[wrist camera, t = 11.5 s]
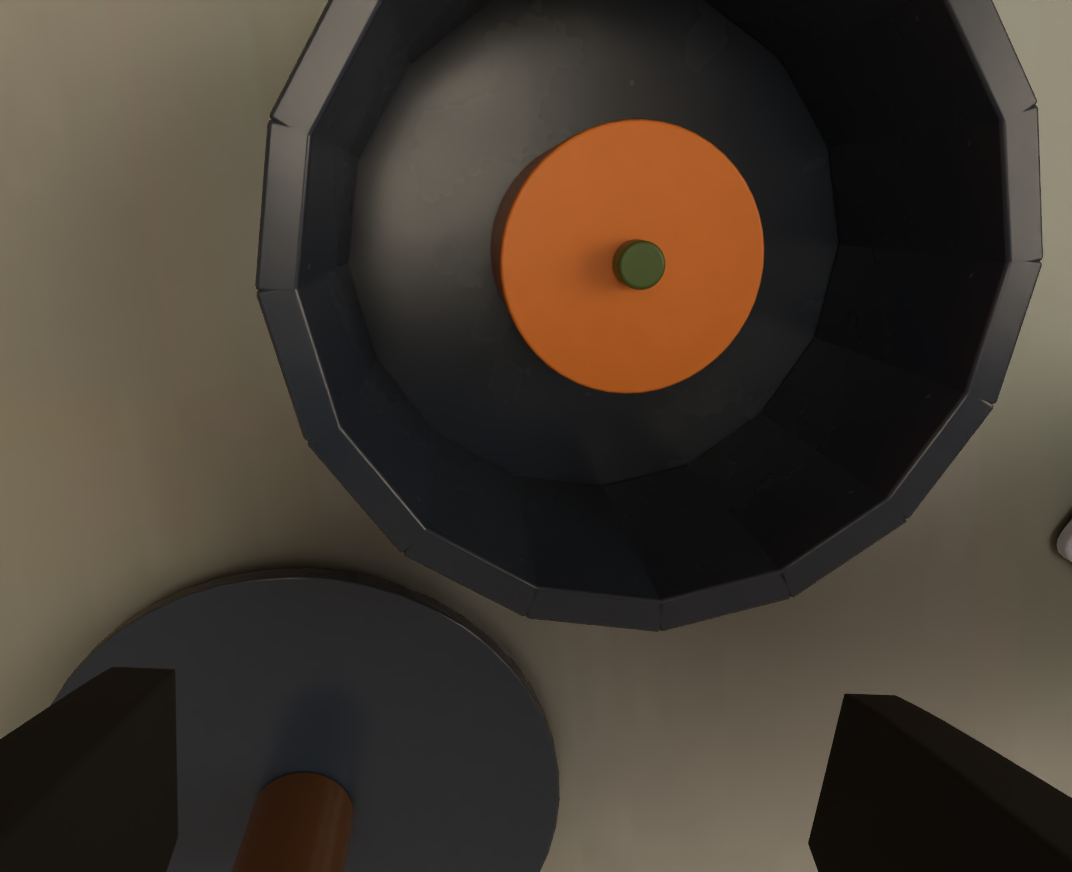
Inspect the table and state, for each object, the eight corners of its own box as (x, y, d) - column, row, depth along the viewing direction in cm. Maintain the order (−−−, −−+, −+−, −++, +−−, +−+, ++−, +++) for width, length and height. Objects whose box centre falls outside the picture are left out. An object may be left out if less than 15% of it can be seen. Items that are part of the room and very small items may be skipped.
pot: (953, 165, 18) (1195, 147, 12) (662, 579, 20) (746, 733, 14) (509, -184, 15) (545, -421, 9) (228, 340, 17) (115, 409, 11)
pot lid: (646, 694, 21) (698, 826, 16) (405, 1026, 23) (393, 1220, 19) (190, 462, 18) (104, 546, 13) (-33, 869, 20) (-168, 1055, 16)
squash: (744, 215, 17) (833, 219, 13) (626, 394, 18) (676, 449, 14) (566, 90, 16) (604, 52, 12) (449, 286, 17) (448, 313, 13)
